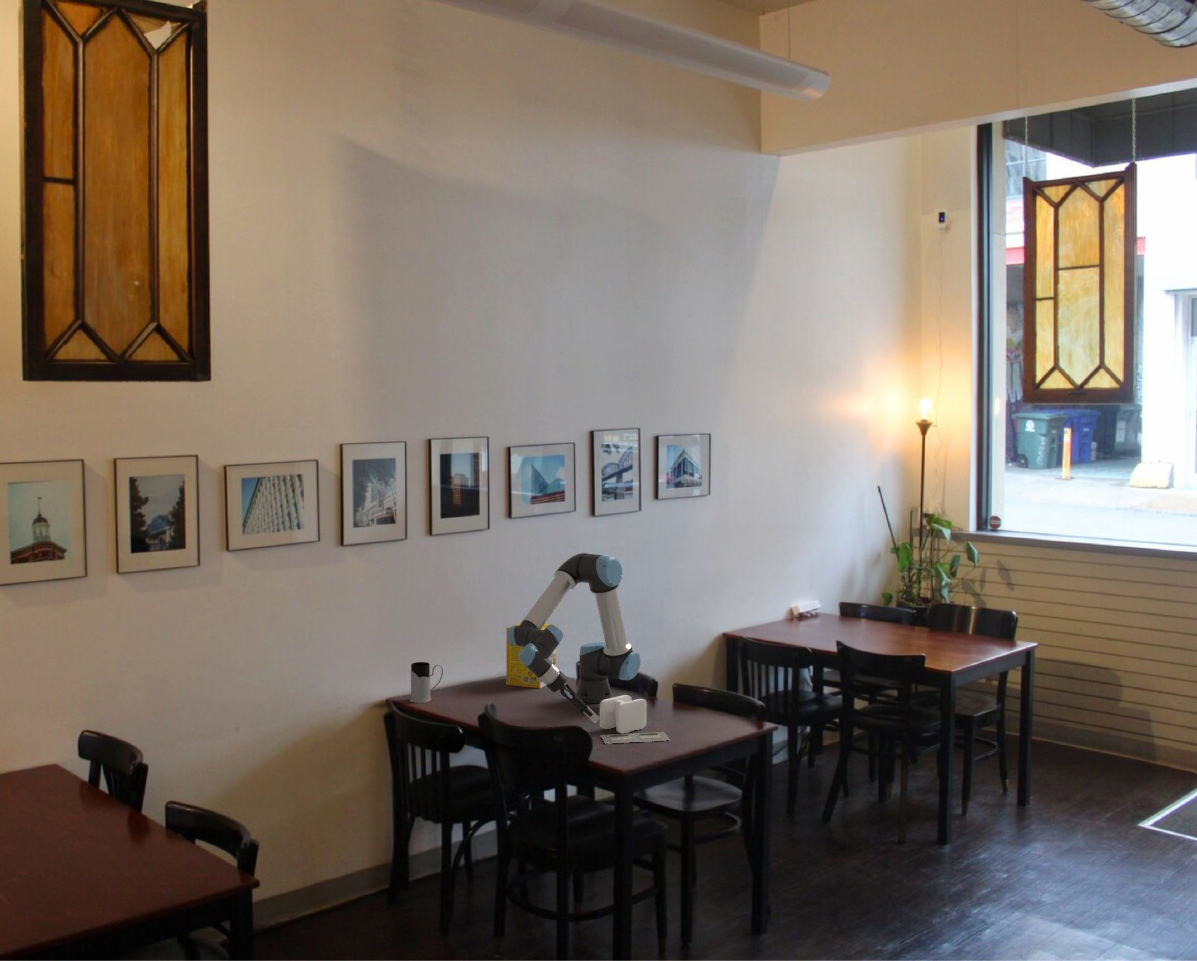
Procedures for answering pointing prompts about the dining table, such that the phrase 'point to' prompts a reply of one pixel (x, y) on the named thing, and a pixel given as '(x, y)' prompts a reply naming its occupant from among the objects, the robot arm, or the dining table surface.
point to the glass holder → (421, 682)
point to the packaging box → (522, 666)
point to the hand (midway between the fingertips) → (597, 720)
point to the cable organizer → (623, 714)
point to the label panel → (634, 737)
